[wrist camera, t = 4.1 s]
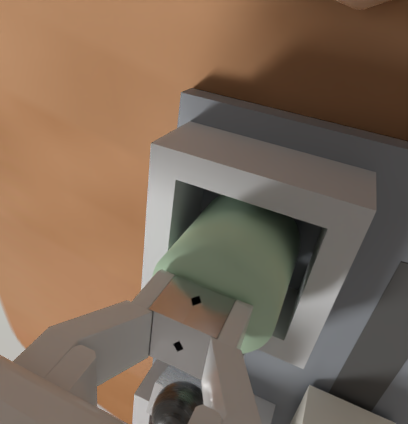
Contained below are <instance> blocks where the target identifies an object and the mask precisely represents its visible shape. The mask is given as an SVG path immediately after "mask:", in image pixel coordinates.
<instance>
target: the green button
mask: <svg viewBox="0 0 408 424" xmlns="http://www.w3.org/2000/svg"><path fill="white" fill-rule="evenodd" d="M300 244H301V242H300V234H299V230H298V227H297V225H296V223H295V221H294V219H293V218H292V217H289V216H286V215H283V214H280V213H277V212H274V211H271V210H268V209H265V208H262V207H259V206H255V205H252V204H249V203H246V202H243V201H240V200H237V199H234V198H231V197H228V196H225V195H220V196H218V197H217V198H215V199H214V200H213V201H212V202H211V203H210V204H209V205H208V206H207V207H206V208H205V210H204V211H203V212H202V213H201V214H200V215H199V216H198V217H197V219H196V220H195V221H194V222H193V223H192V224H191V225H190V226H189V228H188V229H187V230H186V231H185V232H184V233H183V234H182V235H181V237H180V238H179V239H178V240H177V241H176V242H175V243H174V244H173V246H172V247H171V248H170V249H169V250H168V251H167V252H166V254H165V255H164V256H163V257H162V258H161V259H160V260H159V262H158V263H157V265H156V266H155V269H154V271H153V275H152V277H153V276H154V275H155V274H156V272H157V271H159V270H161V269H163V270H165V271H167V272H169V273H172V274H174V275H177V276H180V277H182V278H184V279H187V280H189V281H191V282H194V283H196V284H198V285H201V286H203V287H205V288H208V289H211V290H214V291H216V292H219V293H221V294H224V295H226V296H229V297H232V298H234V299H237V300H240V301H242V302H245V303H247V304H250V305H253V311H252V314H251V317H250V321H249V324H248V327H247V331H246V334H245V337H244V340H243V343H242V346H241V349H240V350H241V351H242V354H244V353H248V352H252V351H254V350H257V349H259V348H260V347H262V346H263V345H264V344H265V343H267V342H268V340H269V339H270V338H271V336H272V334H273V332H274V330H275V327H276V324H277V321H278V318H279V314H280V311H281V308H282V305H283V302H284V299H285V296H286V293H287V290H288V286H289V283H290V280H291V277H292V274H293V271H294V268H295V265H296V261H297V258H298V255H299V251H300Z"/></svg>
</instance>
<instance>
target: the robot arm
mask: <svg viewBox="0 0 408 424" xmlns="http://www.w3.org/2000/svg"><path fill="white" fill-rule="evenodd" d="M252 311H253V305H250V304H247V303H245V302H242V301H240V300H237V299H234V298H232V297H229V296H226V295H224V294H221V293H219V292H216V291H214V290H211V289H208V288H205V287H203V286H201V285H198V284H196V283H194V282H191V281H189V280H187V279H184V278H182V277H180V276H177V275H174V274H172V273H169V272H167V271H165V270H163V269H161V270H159V271H157V272H156V274H155V275H154V276H153V277H152V278H151V280H150V281H149V282H148V283H147V284H146V285H145V287H144V288H143V289H142V290H141V291H140V292H139V294H138V295H137V296H136V297H135V298H134V299H133V301H132V302H130V301H127V300H126V301H124V302H121V303H118V304H115V305H112V306H109V307H106V308H103V309H100V310H97V311H94V312H91V313H89V314H86V315H83V316H80V317H77V318H74V319H71V320H68V321H65V322H62V323H59V324H56V325H53V326H51V327H49V328H48V329H47V330H45V331H44V332H43V333H42V334H41V335H40V336H39V337H38V338H37V339H36V340H35V341H34V342H33V343H32V344H31V345H30V346H29V347H28V348H27V349H26V350H24V351H23V352H22V353H21V354H20V355H19V356H18V357H17V358H16V359H15V360H14V361H13V362H12V361H10V360H8V359H6V358H5V357H3V356H1V355H0V424H127V423H126V422H124V421H122V420H120V419H118V418H116V417H114V416H112V415H111V414H109V413H107V412H105V411H103V410H101V409H99V408H98V407H97V386H99V385H100V384H102V383H104V382H106V381H107V380H109V379H111V378H113V377H114V376H116V375H118V374H120V373H121V372H123V371H125V370H127V369H128V368H130V367H132V366H134V365H135V364H137V363H139V362H141V361H142V360H144V359H146V358H148V355H149V356H151V357H153V358H155V359H158V360H160V361H162V362H165V363H167V364H169V365H171V366H174V367H176V368H178V369H180V370H182V371H184V372H186V373H188V374H190V375H192V376H194V377H195V378H197V379H199V380H201V385H202V394H203V404H204V405H203V404H202V405H199V406H197V407H195V409H194V412H193V414H192V416H191V418H190V420H189V422H188V424H262V423H261V419H260V416H259V412H258V408H257V405H256V401H255V398H254V394H253V390H252V387H251V383H250V380H249V376H248V372H247V369H246V365H245V362H244V358H243V355H242V351H241V350H240V349H241V346H242V343H243V340H244V337H245V334H246V331H247V327H248V324H249V321H250V317H251V314H252Z"/></svg>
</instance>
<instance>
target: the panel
mask: <svg viewBox="0 0 408 424" xmlns="http://www.w3.org/2000/svg"><path fill="white" fill-rule="evenodd" d="M220 195H225V196H228V197H231V198H234V199H237V200H240V201H243V202H246V203H249V204H252V205H255V206H259V207H262V208H265V209H268V210H271V211H274V212H277V213H280V214H283V215H286V216H289V217H292V218H293V219H294V221H295V223H296V225H297V227H298V230H299V234H300V242H301V244H300V251H299V255H298V258H297V261H296V265H295V268H294V271H293V274H292V277H291V280H290V283H289V286H288V290H287V293H286V296H285V299H284V302H283V305H282V308H281V311H280V314H279V318H278V321H277V324H276V327H275V330H274V332H273V334H272V336H271V338H270V339H269V340H268V342H267V343H265V344H264V345H263V346H262V347H260V348H259V349H257V350H254V351H252V352H248V353H246V354H245V357H244V362H245V365H246V369H247V372H248V376H249V380H250V383H251V387H252V390H253V394H254V398H255V401H256V405H257V408H258V412H259V416H260V419H261V423H262V424H290V423H291V421H292V419H293V417H294V415H295V413H296V411H297V409H298V407H299V405H300V403H301V401H302V398H303V396H304V394H305V392H306V390H307V388H308V386H309V385H311V386H313V387H316V388H318V389H320V390H322V391H325V392H327V393H329V394H331V395H334V396H336V397H338V398H340V399H343V400H345V401H347V402H349V403H352V404H354V405H356V406H358V407H361V408H363V409H365V410H367V411H370V412H372V413H374V414H376V415H379V416H381V417H383V418H385V419H388V420H390V421H392V422H394V423H396V424H408V141H404V140H400V139H396V138H392V137H388V136H384V135H380V134H376V133H372V132H368V131H364V130H360V129H356V128H352V127H348V126H344V125H340V124H336V123H331V122H327V121H323V120H319V119H315V118H311V117H307V116H303V115H299V114H295V113H291V112H287V111H283V110H279V109H275V108H271V107H267V106H263V105H259V104H255V103H250V102H246V101H242V100H238V99H234V98H230V97H226V96H222V95H218V94H214V93H210V92H206V91H202V90H198V89H194V88H191V89H188V90H186V91H183V92H181V98H180V107H179V117H178V126H177V129H175V130H173V131H171V132H170V133H168V134H166V135H164V136H163V137H161V138H159V139H157V140H155V141H154V142H152V143H151V151H150V166H149V181H148V196H147V211H146V226H145V241H144V256H143V271H142V286H141V290H142V289H143V288H144V287H145V285H146V284H147V283H148V282H149V281H150V280H151V278H152V275H153V271H154V269H155V266H156V265H157V263H158V262H159V260H160V259H161V258H162V257H163V256H164V255H165V254H166V252H167V251H168V250H169V249H170V248H171V247H172V246H173V244H174V243H175V242H176V241H177V240H178V239H179V238H180V237H181V235H182V234H183V233H184V232H185V231H186V230H187V229H188V228H189V226H190V225H191V224H192V223H193V222H194V221H195V220H196V219H197V217H198V216H199V215H200V214H201V213H202V212H203V211H204V210H205V208H206V207H207V206H208V205H209V204H210V203H211V202H212V201H213V200H214V199H215V198H217V197H218V196H220ZM168 366H169V364H167V363H165V362H162V361H160V360H158V359H155V358H153V366H152V367H151V369H150V370H149V372H148V373H147V375H146V377H145V378H144V380H143V381H142V383H141V384H140V386H139V388H138V389H137V391H136V392H135V394H134V407H133V422H132V424H152V415H150V414H148V413H146V410H147V407H148V404H149V400H150V397H151V394H152V391H153V387H154V384H155V382H156V381H157V379H158V378H159V377H160V376H161V375H162V374H163V372H164V371H165V370H166V369H167V368H168Z"/></svg>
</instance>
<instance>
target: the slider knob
mask: <svg viewBox="0 0 408 424" xmlns="http://www.w3.org/2000/svg"><path fill="white" fill-rule="evenodd" d="M290 424H396V423H394V422H392V421H390V420H388V419H385V418H383V417H381V416H379V415H376V414H374V413H372V412H370V411H367V410H365V409H363V408H361V407H358V406H356V405H354V404H352V403H349V402H347V401H345V400H343V399H340V398H338V397H336V396H334V395H331V394H329V393H327V392H325V391H322V390H320V389H318V388H316V387H313V386H311V385H309V386H308V388H307V390H306V392H305V394H304V396H303V398H302V401H301V403H300V405H299V407H298V409H297V411H296V413H295V415H294V417H293V419H292V421H291V423H290Z"/></svg>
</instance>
